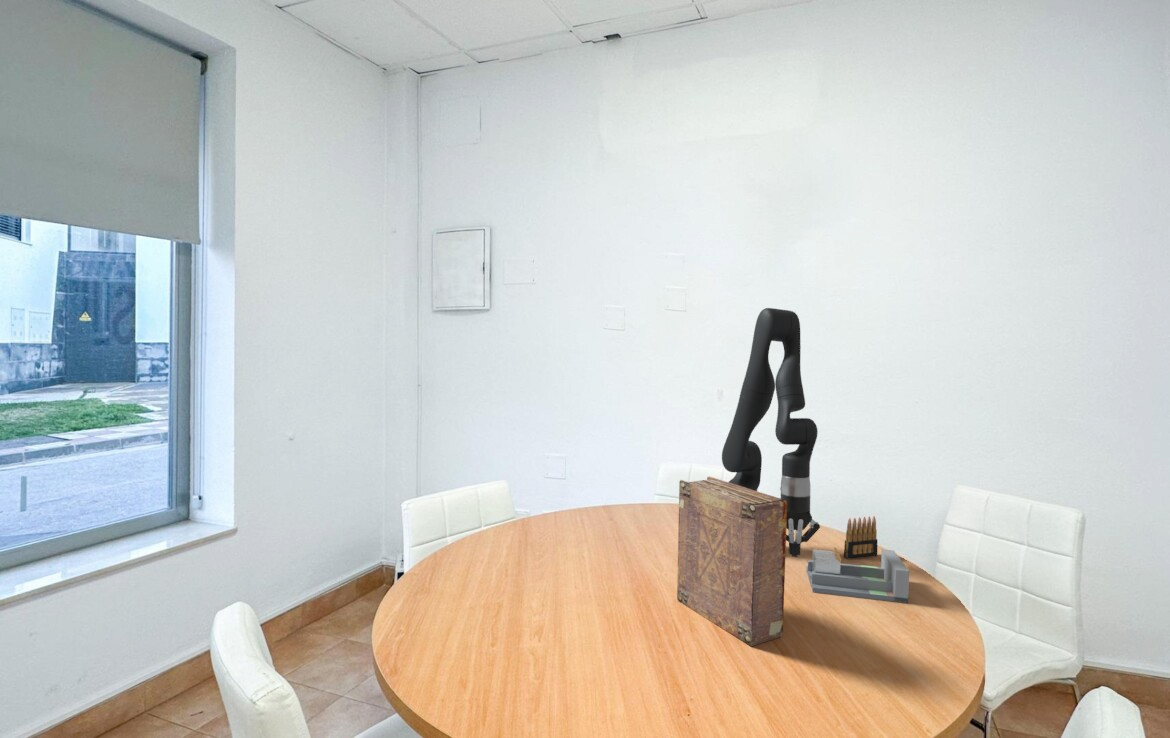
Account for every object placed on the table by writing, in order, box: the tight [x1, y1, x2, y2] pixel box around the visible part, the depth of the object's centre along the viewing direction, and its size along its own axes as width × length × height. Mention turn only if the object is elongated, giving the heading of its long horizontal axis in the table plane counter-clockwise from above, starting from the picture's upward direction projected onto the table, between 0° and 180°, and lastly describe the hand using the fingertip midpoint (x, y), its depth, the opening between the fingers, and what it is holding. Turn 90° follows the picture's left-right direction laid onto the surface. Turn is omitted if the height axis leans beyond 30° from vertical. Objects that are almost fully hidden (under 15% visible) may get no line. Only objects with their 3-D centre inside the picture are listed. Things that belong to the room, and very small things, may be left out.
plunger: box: [812, 547, 842, 575], centre depth 155 cm, size 6×8×7 cm
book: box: [676, 476, 787, 647], centre depth 134 cm, size 25×9×30 cm, turn 29°
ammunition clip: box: [843, 515, 878, 560], centre depth 175 cm, size 11×2×12 cm, turn 106°
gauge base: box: [805, 548, 910, 604], centre depth 153 cm, size 22×15×8 cm
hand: (794, 555), depth 157 cm, fingers closed
